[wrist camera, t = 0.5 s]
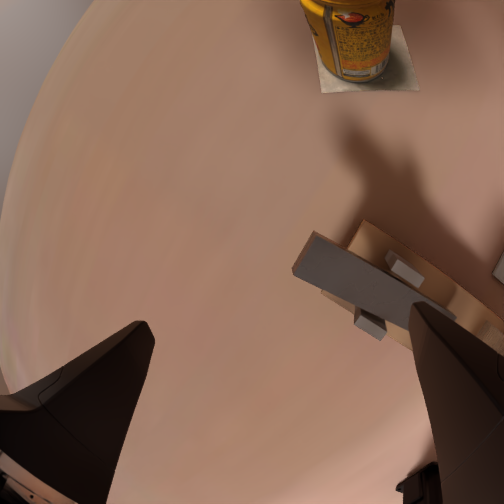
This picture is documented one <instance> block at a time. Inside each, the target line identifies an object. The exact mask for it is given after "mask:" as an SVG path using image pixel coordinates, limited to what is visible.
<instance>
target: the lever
mask: <svg viewBox="0 0 504 504" xmlns="http://www.w3.org/2000/svg"><path fill="white" fill-rule="evenodd" d="M292 272H293V275H294V276H296V277H298V278H300V279H302V280H304V281H306V282H308V283H310V284H312V285H314V286H316V287H318V288H321V289H323V290H325V291H327V292H329V293H331V294H333V295H335V296H337V297H339V298H341V299H343V300H345V301H347V302H349V303H351V304H353V305H355V306H358V307H360V308H362V309H364V310H366V311H368V312H370V313H372V314H374V315H376V316H378V317H380V318H382V319H384V320H386V321H388V322H391V323H393V324H395V325H397V326H399V327H401V328H403V329H405V330H407V331H409V330H408V322H409V316H410V309H411V305H412V303H414V302H419V301H425V302H426V303H428V304H430V305H431V306H433V307H434V308H436V309H437V310H439V311H440V312H441V313H443V314H444V315H446V316H447V317H449V318H450V319H452V320H453V321H455V320H456V319H457V317H456V316H455V315H454V314H453V313H452V312H451V311H450V310H449V309H447V308H446V307H444V306H442V305H441V304H439V303H438V302H436V301H435V300H433V299H431V298H430V297H428V296H427V295H425V294H423V293H422V292H420V291H418V290H417V289H415V288H413V287H412V286H410V285H408V284H407V283H405V282H404V281H402V280H400V279H398V278H397V277H395V276H393V275H392V274H390V273H388V272H387V271H385V270H383V269H381V268H380V267H378V266H376V265H375V264H373V263H371V262H369V261H368V260H366V259H364V258H362V257H361V256H359V255H357V254H355V253H354V252H352V251H350V250H348V249H346V248H345V247H343V246H341V245H339V244H337V243H336V242H334V241H332V240H330V239H328V238H326V237H325V236H323V235H321V234H319V233H317V232H315V231H313V232H312V234H311V236H310V237H309V239H308V241H307V243H306V244H305V246H304V248H303V250H302V251H301V253H300V255H299V257H298V258H297V260H296V262H295V263H294V265H293V267H292Z"/></svg>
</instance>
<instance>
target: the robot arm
mask: <svg viewBox="0 0 504 504" xmlns="http://www.w3.org/2000/svg"><path fill="white" fill-rule="evenodd" d="M408 330H409V334H410V339H411V344H412V349H413V354H414V360H415V365H416V370H417V374H418V377H419V381H420V384H421V388H422V392H423V395H424V399H425V403H426V407H427V411H428V415H429V419H430V424H431V428H432V433H433V438H434V443H435V448H436V453H437V459H438V463H435V462H432V463H430V464H429V465H427V466H426V467H424V468H423V469H422V470H420V471H419V472H418V473H416V474H415V475H413V476H412V477H410V478H409V479H407V480H406V481H404V482H403V483H401V484H400V485H398V486H397V487H396V491H398V492H401V493H403V504H504V356H502V355H501V354H500V353H498V352H497V351H496V350H494V349H493V348H491V347H490V346H489V345H487V344H486V343H485V342H483V341H482V340H480V339H479V338H478V337H476V336H475V335H473V334H472V333H471V332H469V331H468V330H466V329H465V328H463V327H462V326H461V325H459V324H458V323H456V322H455V321H453V320H452V319H450V318H449V317H447V316H446V315H444V314H443V313H441V312H440V311H439V310H437V309H436V308H434V307H433V306H431V305H430V304H428V303H426V302H425V301H419V302H414V303H412V305H411V309H410V316H409V322H408ZM154 345H155V338H154V336H153V334H152V332H151V330H150V328H149V325H148V324H147V322H146V321H134V322H132V323H131V324H129V325H128V326H126V327H124V328H123V329H121V330H120V331H118V332H116V333H115V334H113V335H112V336H110V337H108V338H107V339H105V340H104V341H102V342H100V343H99V344H97V345H96V346H94V347H92V348H91V349H89V350H88V351H86V352H84V353H83V354H81V355H80V356H78V357H77V358H75V359H73V360H72V361H70V362H69V363H67V364H65V365H64V366H62V367H61V368H59V369H57V370H56V371H54V372H52V373H51V374H49V375H48V376H46V377H44V378H42V379H40V380H39V381H37V382H35V383H33V384H31V385H29V386H28V387H26V388H24V389H22V390H20V391H18V392H16V393H14V394H11V395H0V504H77V503H78V504H106V502H107V498H108V494H109V491H110V487H111V484H112V480H113V477H114V473H115V471H114V470H115V469H116V466H117V463H118V460H119V456H120V453H121V450H122V447H123V444H124V440H125V437H126V434H127V431H128V428H129V425H130V422H131V419H132V416H133V413H134V410H135V407H136V405H137V402H138V399H139V396H140V393H141V390H142V388H143V385H144V382H145V379H146V376H147V372H148V368H149V364H150V360H151V356H152V353H153V349H154Z"/></svg>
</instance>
